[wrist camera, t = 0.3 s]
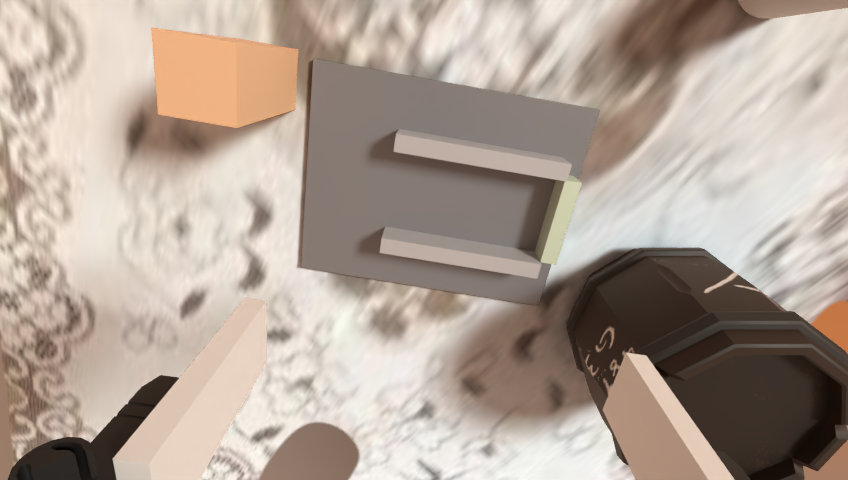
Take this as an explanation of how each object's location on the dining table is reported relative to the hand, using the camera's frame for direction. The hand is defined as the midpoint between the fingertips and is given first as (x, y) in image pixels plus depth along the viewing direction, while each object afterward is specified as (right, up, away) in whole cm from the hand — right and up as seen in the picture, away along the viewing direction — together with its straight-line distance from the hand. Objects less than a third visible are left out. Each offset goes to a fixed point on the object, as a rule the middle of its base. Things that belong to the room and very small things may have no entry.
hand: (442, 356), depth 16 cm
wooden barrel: (+23, -3, +30) cm, 38 cm away
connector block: (-14, +19, +22) cm, 32 cm away
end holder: (+1, +9, +25) cm, 27 cm away
